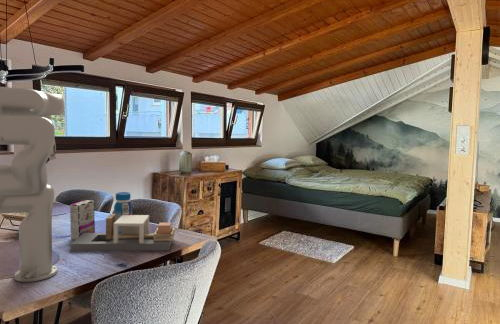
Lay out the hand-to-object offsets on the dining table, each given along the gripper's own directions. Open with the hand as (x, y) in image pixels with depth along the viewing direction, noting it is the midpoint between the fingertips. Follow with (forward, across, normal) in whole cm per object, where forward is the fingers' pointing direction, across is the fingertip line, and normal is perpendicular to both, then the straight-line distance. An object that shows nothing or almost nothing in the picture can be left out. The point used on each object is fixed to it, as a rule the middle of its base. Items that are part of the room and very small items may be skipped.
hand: (41, 173), depth 137 cm
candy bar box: (+32, +8, +22) cm, 40 cm away
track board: (+32, +30, +10) cm, 45 cm away
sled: (+29, +37, +10) cm, 48 cm away
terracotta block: (+28, +47, +10) cm, 56 cm away
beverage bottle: (+32, +25, +27) cm, 49 cm away
